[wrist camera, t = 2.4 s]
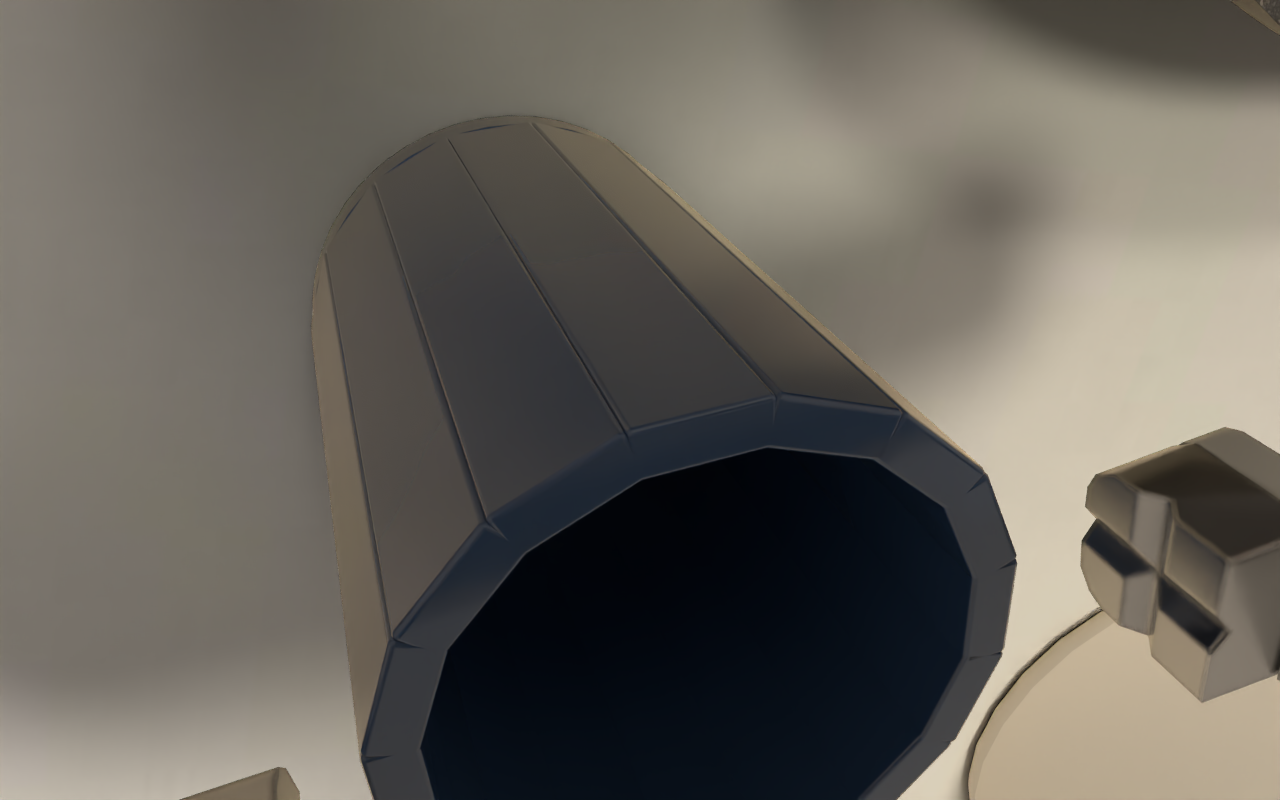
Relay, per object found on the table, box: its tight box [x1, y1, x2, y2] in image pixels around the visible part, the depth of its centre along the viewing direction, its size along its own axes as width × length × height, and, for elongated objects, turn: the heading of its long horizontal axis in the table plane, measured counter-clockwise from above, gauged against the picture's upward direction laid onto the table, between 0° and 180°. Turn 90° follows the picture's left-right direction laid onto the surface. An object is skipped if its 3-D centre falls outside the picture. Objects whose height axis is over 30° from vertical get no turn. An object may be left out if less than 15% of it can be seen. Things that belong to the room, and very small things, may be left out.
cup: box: [311, 116, 1017, 800], centre depth 13 cm, size 6×6×9 cm
